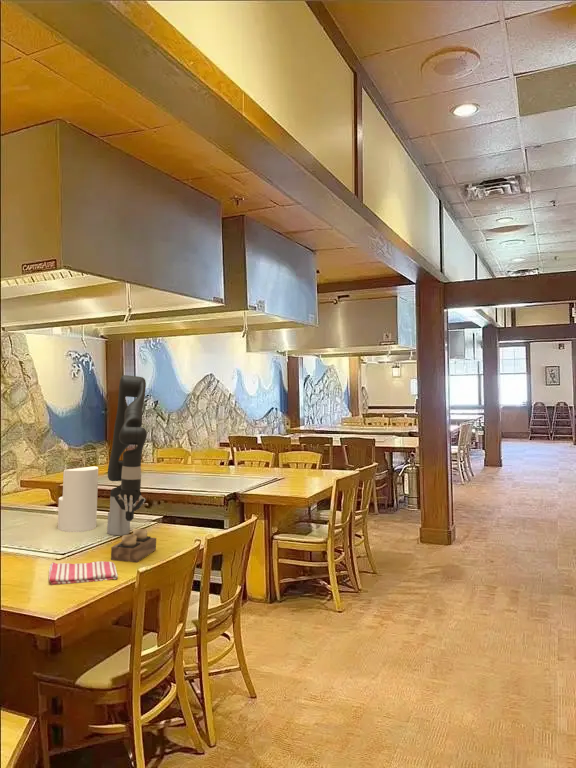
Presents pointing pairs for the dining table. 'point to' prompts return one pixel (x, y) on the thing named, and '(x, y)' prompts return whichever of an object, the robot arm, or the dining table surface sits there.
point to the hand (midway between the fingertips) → (129, 520)
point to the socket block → (133, 550)
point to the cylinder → (78, 500)
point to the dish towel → (81, 572)
